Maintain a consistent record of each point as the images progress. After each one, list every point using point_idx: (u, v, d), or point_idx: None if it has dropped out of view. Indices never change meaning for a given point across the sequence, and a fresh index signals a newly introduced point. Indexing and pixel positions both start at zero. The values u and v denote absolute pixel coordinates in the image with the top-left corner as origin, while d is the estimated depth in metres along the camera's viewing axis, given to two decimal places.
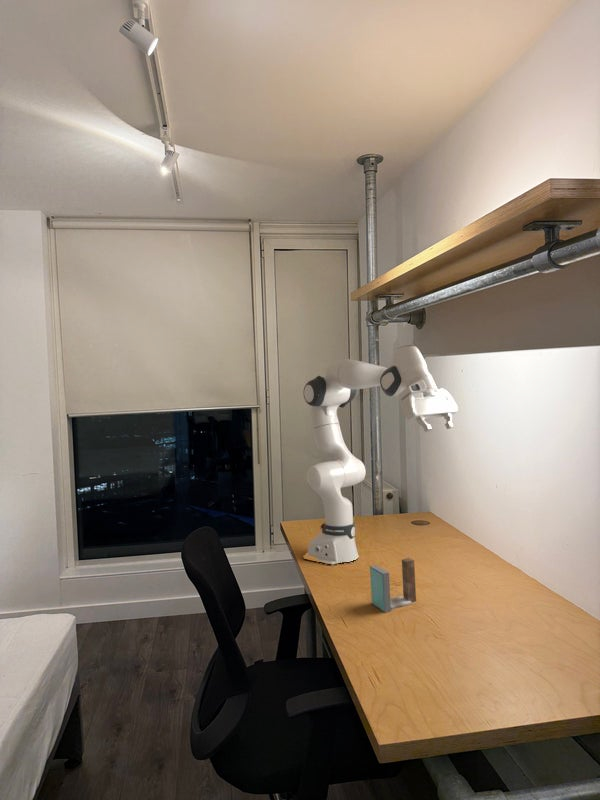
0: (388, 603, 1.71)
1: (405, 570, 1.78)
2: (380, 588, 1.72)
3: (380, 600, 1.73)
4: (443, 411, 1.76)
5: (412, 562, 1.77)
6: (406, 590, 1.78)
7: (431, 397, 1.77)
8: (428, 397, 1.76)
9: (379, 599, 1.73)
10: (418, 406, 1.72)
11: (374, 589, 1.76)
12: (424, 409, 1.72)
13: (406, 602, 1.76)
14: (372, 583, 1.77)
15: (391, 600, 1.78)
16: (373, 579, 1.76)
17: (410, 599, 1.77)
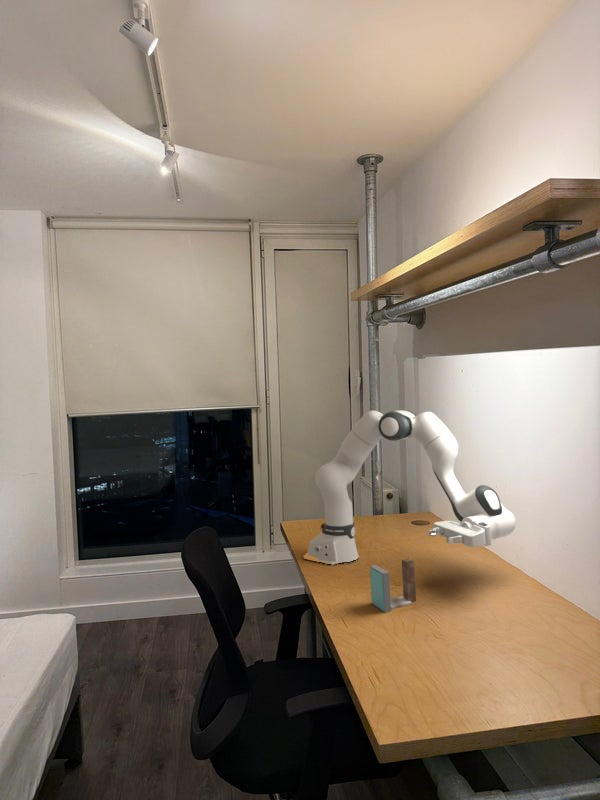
0: (388, 603, 1.71)
1: (405, 570, 1.78)
2: (380, 588, 1.72)
3: (380, 600, 1.73)
4: None
5: (412, 562, 1.77)
6: (406, 590, 1.78)
7: None
8: None
9: (379, 599, 1.73)
10: None
11: (374, 589, 1.76)
12: None
13: (406, 602, 1.76)
14: (372, 583, 1.77)
15: (391, 600, 1.78)
16: (373, 579, 1.76)
17: (410, 599, 1.77)
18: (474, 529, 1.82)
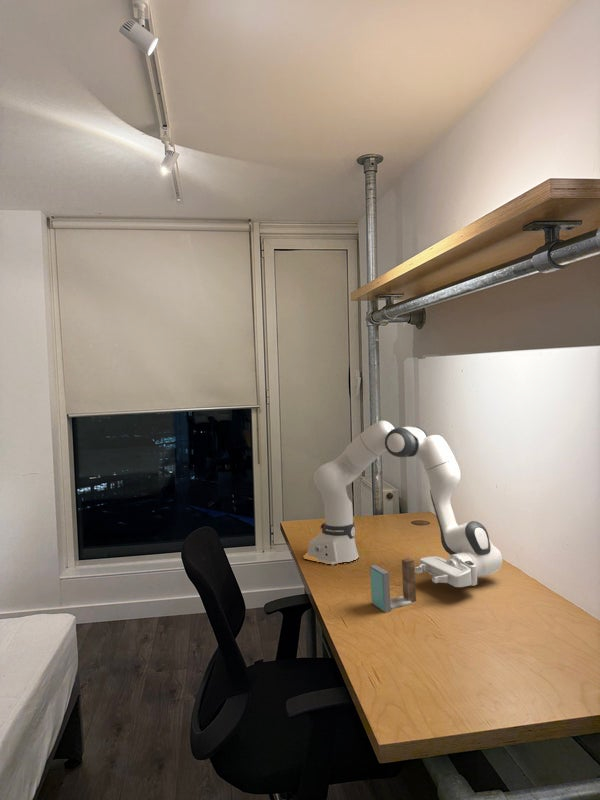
0: (388, 603, 1.71)
1: (405, 570, 1.78)
2: (380, 588, 1.72)
3: (380, 600, 1.73)
4: (431, 574, 1.86)
5: (412, 562, 1.77)
6: (406, 590, 1.78)
7: None
8: None
9: (379, 599, 1.73)
10: None
11: (374, 589, 1.76)
12: None
13: (406, 602, 1.76)
14: (372, 583, 1.77)
15: (391, 600, 1.78)
16: (373, 579, 1.76)
17: (410, 599, 1.77)
18: (460, 568, 1.80)
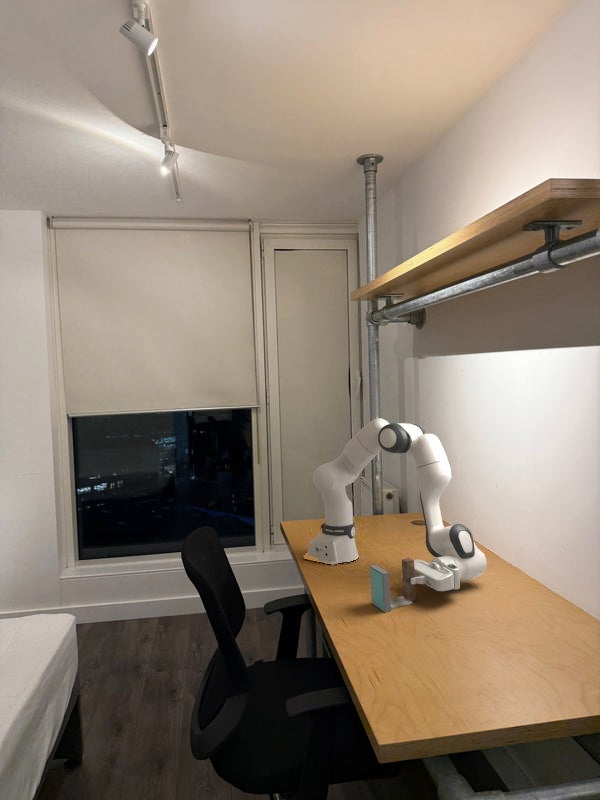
0: (388, 603, 1.71)
1: (405, 570, 1.78)
2: (380, 588, 1.72)
3: (380, 600, 1.73)
4: None
5: (412, 562, 1.77)
6: (406, 590, 1.78)
7: None
8: None
9: (379, 599, 1.73)
10: None
11: (374, 589, 1.76)
12: None
13: (406, 602, 1.76)
14: (372, 583, 1.77)
15: (391, 600, 1.78)
16: (373, 579, 1.76)
17: (410, 599, 1.77)
18: (443, 571, 1.78)
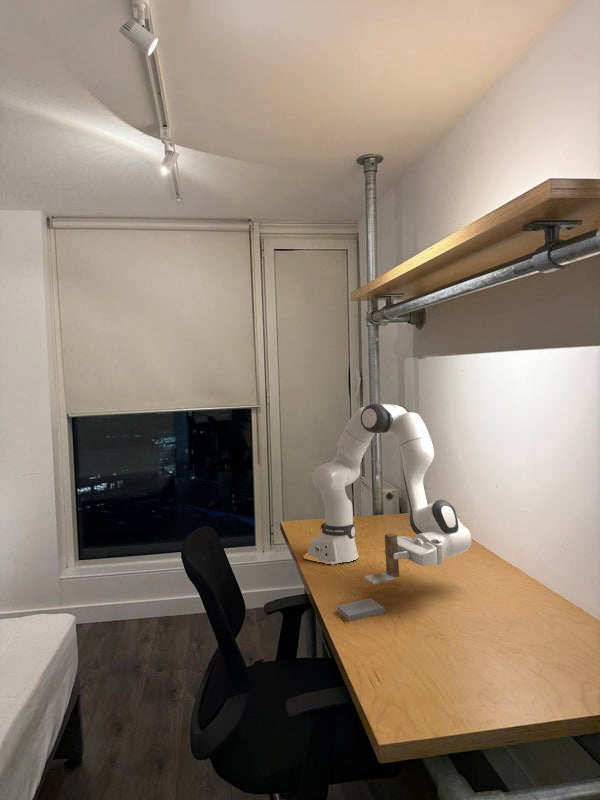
0: (377, 611, 1.70)
1: (388, 545, 1.75)
2: None
3: None
4: None
5: (395, 537, 1.75)
6: (389, 565, 1.75)
7: None
8: None
9: None
10: None
11: None
12: None
13: (389, 577, 1.73)
14: None
15: (374, 576, 1.76)
16: None
17: (393, 575, 1.75)
18: (426, 547, 1.75)
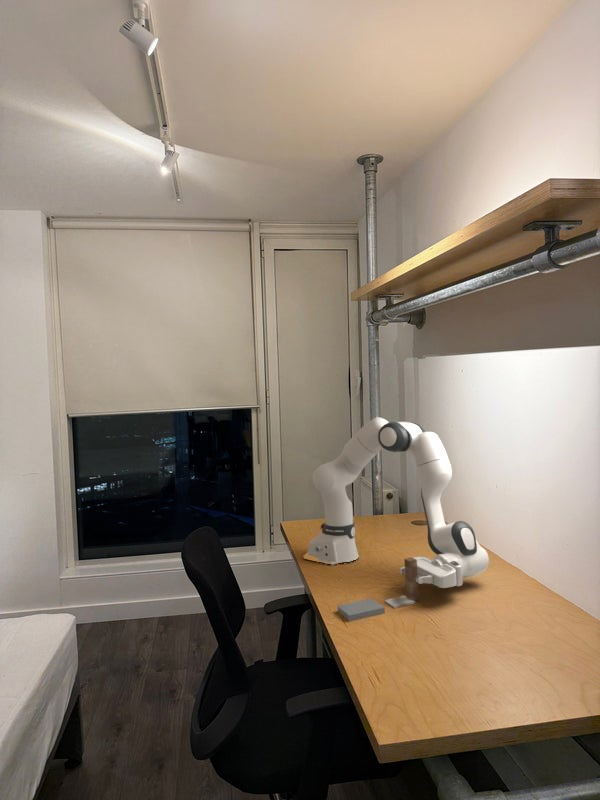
0: (377, 611, 1.70)
1: (408, 569, 1.78)
2: None
3: None
4: None
5: (415, 561, 1.78)
6: (409, 589, 1.78)
7: None
8: None
9: None
10: None
11: None
12: None
13: (409, 601, 1.76)
14: None
15: (394, 599, 1.79)
16: None
17: (413, 598, 1.78)
18: (445, 568, 1.78)
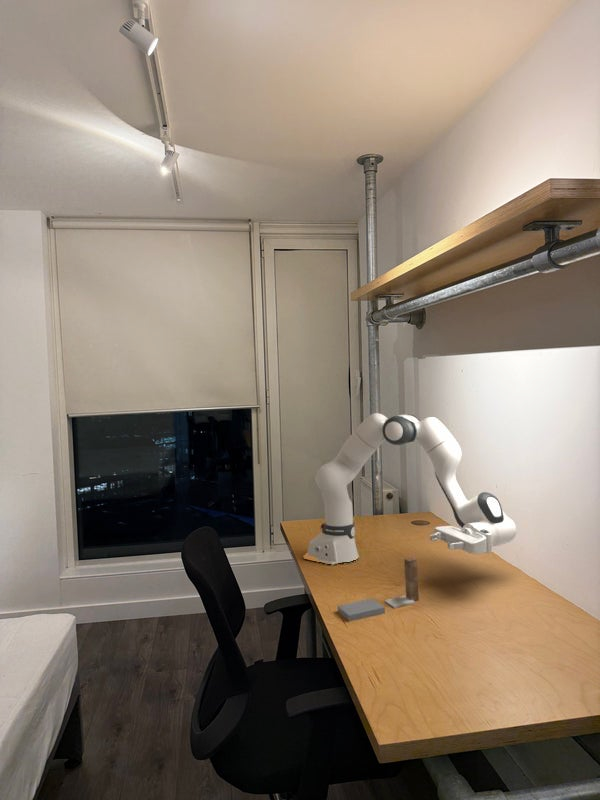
0: (377, 611, 1.70)
1: (408, 569, 1.78)
2: None
3: None
4: (446, 542, 1.88)
5: (415, 561, 1.78)
6: (409, 589, 1.78)
7: None
8: None
9: None
10: None
11: None
12: None
13: (409, 601, 1.76)
14: None
15: (394, 599, 1.79)
16: None
17: (413, 598, 1.78)
18: (475, 536, 1.83)
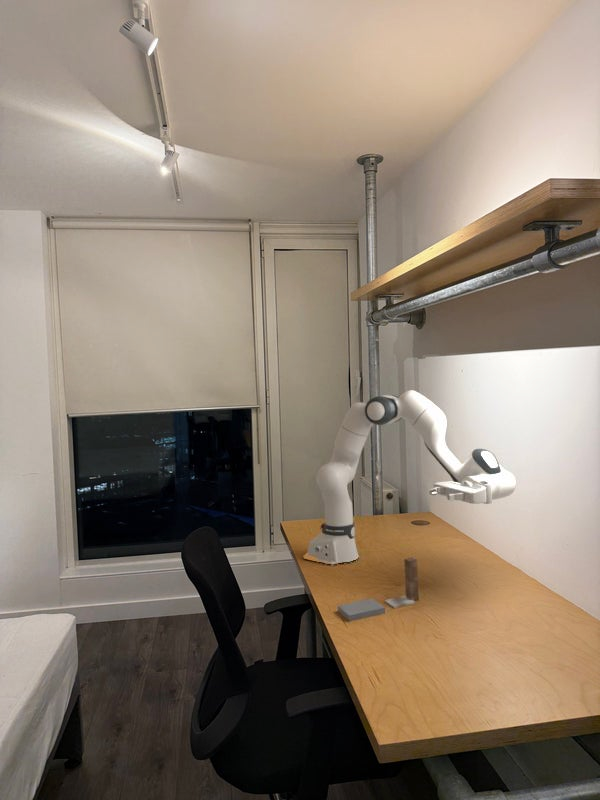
0: (377, 611, 1.70)
1: (408, 569, 1.78)
2: None
3: None
4: (446, 496, 1.87)
5: (415, 561, 1.78)
6: (409, 589, 1.78)
7: None
8: None
9: None
10: None
11: None
12: None
13: (409, 601, 1.76)
14: None
15: (394, 599, 1.79)
16: None
17: (413, 598, 1.78)
18: (475, 487, 1.82)
